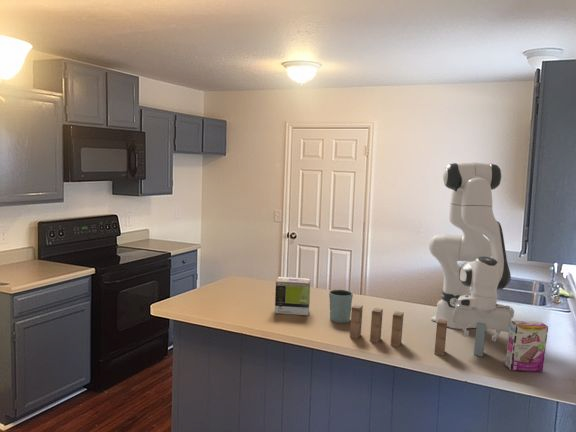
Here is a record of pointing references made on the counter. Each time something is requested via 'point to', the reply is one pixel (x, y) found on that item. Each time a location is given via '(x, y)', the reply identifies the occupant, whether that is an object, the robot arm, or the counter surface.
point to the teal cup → (340, 305)
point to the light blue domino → (479, 339)
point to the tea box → (292, 295)
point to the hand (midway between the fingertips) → (479, 338)
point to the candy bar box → (526, 346)
